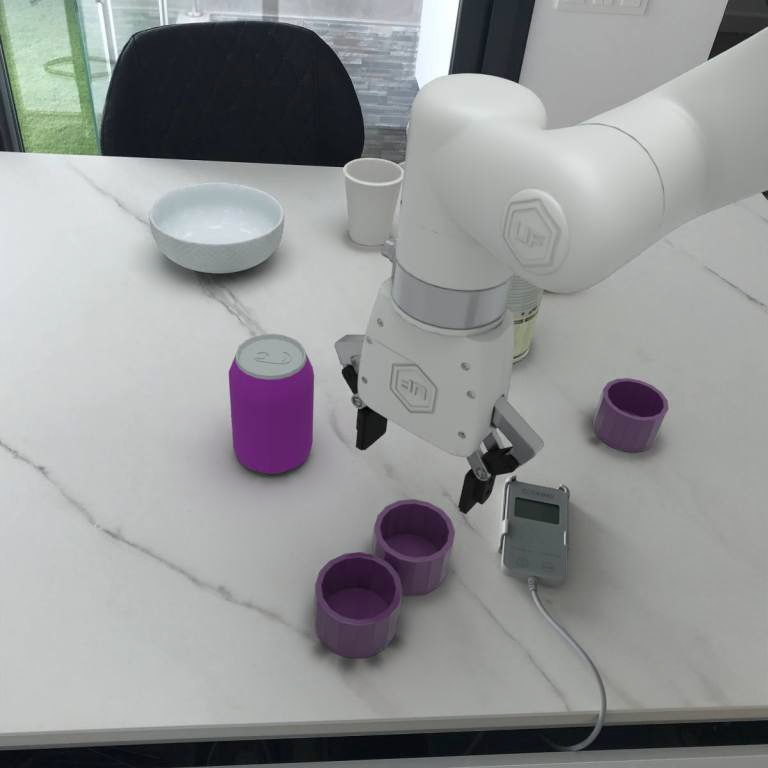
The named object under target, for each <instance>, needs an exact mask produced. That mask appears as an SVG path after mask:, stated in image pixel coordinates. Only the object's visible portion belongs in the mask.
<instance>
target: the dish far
mask: <svg viewBox="0 0 768 768" xmlns="http://www.w3.org/2000/svg"><path fill="white" fill-rule="evenodd" d="M598 400H599V401H598V403H597V406H596V409H595V412H594V416H593V420H592V428H593V431H594V433H595V434H596V436H597V438H599V440H601V441H602V442H603V443H605V444H606V445H608V446H609V447H612V448H613V449H616V450H618V451H622V452H627V453H639V452H641V453H642V452H644V451H647V450H648V449H650V448H652V447H653V446H654V444H655V442H656V440H657V438H658V436H659V433H660V431H661V429H662V427H663V424H664V422H665V419H666V417H667V414H668V412H669V409H670V408H669V401H668V399H667V397H666V396H665V395H664V393H663V392H662V391H661V390H659V389H658V388H656V386H654V385H652V384H650V383H649V382H648V383H647V382H645V381H643V380H640V379H634V378H630V377H624V378H616V379H613V380H611V381H608V382H607V383H606V384H605V386H604V387H603V389H602V392H601V395H600V397H599V399H598Z"/></svg>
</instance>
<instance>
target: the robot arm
mask: <svg viewBox="0 0 768 768" xmlns="http://www.w3.org/2000/svg"><path fill="white" fill-rule="evenodd" d="M547 127H548V116H547V110H546V108H545V106H544V104H543V102H542V100H541V99H540V98H539V97H538V95H537V94H536V93H535V92H534V91H532V90H531V89H530V88H528V87H526V86H524V85H522V84H520V83H517V82H516V81H512V80H510V79H507V78H504V77H500V76H496V75H490V74H483V73H468V72H467V73H454V74H453V73H452V74H446V75H441V76H438V77H435V78H433V79H431V80H430V81H428V82H426V83H425V84H424V85H423V86H422V87H421V88H420V89H419V90H418V92H417V93H416V96H415V97H414V100H413V102H412V105H411V108H410V116H409V119H408V130H407V137H406V149H405V157H404V168H403V170H404V175H403V180H402V183H401V194H400V202H399V213H398V222H397V231H396V238H393V237H389V238H388V239H386V240H385V242H384V243H383V244H382V245H381V249H380V254H381V256H382V257H384V258H386V259H388V260H389V262H390V263H391V265H392V267H391V277H389V278H387V279H386V280H385V281H383V282H382V283H381V285H380V288H379V290H378V292H377V295H376V298H375V300H374V303H373V306H372V309H371V312H370V314H369V315H370V316H369V318H368V322H367V326H366V329H365V334H345V335H343V336H342V337H341V338H339V339H337V341H335V342H334V349H335V353H336V355H337V359H338V361H339V363H340V365H341V366H342V368H341V376H342V378H343V379H344V381H345V383H346V384H347V386H348V387H349V389H350V391H351V392H352V396H351V397H350V401H351V404H352V405H353V406H354V407H355V408H356V409H357V411H356V412H357V413H356V423H355V429H356V439H355V440H356V441H355V448H356V449H358V450H359V451H366V450H368V448H370V447H371V446H372V445H374V444H375V443H376V442H377V441H379V439H380V438H382V437H383V436H384V435H385V434H386V432H387V428H388V422H389V421H390V422H392V423H393V424H395V425H397V426H399V427H400V428H401V429H404V430H405V431H407V432H409V433H411V434H412V435H414V436H417V437H418V438H420V439H421V440H422V441H425V442H426V443H428V444H430V445H432V446H433V447H435V448H437V449H439V450H441V451H442V452H445V453H446V454H450V455H452V456H454V457H458V458H466V460H467V462H468V465H469V467H470V469H469V470H468V471H467V472H466V473H465V475H464V478H463V483H462V486H461V493H460V496H459V500H458V505H457V508H458V509H459V512H461V513H462V514H464V515H467V514H468V513H469V512H470V511H471V510H472V509H473V507H474V506H475V505H477V504H479V505H481V506H482V505H484V504H485V503H486V502H487V501H488V499H489V498H490V496H491V495H492V492H493V490H494V486H495V483H496V478H497V476H500V475H507V474H511V473H514V472H515V471H516V470H517V469H518V468H520V467H522V466H524V465H525V464H526V463H528V462H529V461H531V460H533V459H534V458H535V457H536V456H537V455H538V453H540V452H541V450H542V449H543V448H544V447H545V443H544V440H543V438H542V437H541V436H540V435H539V434H538V433H537V432H536V431H535V430H534V428H533V427H532V426H531V425H530V424H529V423H528V422H527V421H526V420H525V419H524V417H523V416H522V415H520V413H519V412H518V411H517V410H516V409H515V408H514V406H512V404H511V403H510V402H509V401H508V398H509V392H510V387H511V382H512V374H513V364H514V363H513V353H514V321H513V313H512V312H511V311H510V310H508V309H507V304H508V300H509V295H510V291H511V286H512V282H513V278H514V273H516V274H517V275H518V276H520V277H521V278H522V279H524V280H526V281H527V282H529V283H530V284H532V285H534V286H537V287H539V288H541V289H543V290H544V291H548V292H551V293H556V294H574V293H579V292H582V291H585V290H589V289H590V288H592V287H595V286H596V285H599V284H600V283H602V282H603V281H606V279H608V278H609V277H611V276H613V275H614V274H615V273H617V272H618V271H619V270H621V269H622V268H623V267H625V266H626V265H628V264H629V263H630V262H632V261H633V260H634V259H636V258H638V257H639V256H640V255H642V253H644V252H646V251H647V250H648V249H650V248H651V247H652V246H653V245H655V244H657V243H658V242H659V241H660V240H662V239H663V238H664V237H666V236H668V235H669V234H671V233H672V232H674V231H676V230H677V229H678V228H680V227H682V226H683V225H685V224H688V223H689V222H691V221H693V220H695V219H697V218H699V217H702V216H704V215H707V214H709V213H711V212H714V211H717V210H719V209H721V208H725V207H727V206H730V205H732V204H735V203H737V202H741V201H743V200H746V199H748V198H750V197H754V196H756V195H759V194H761V193H763V192H767V191H768V26H766V27H765V28H763V29H761V30H760V31H758V32H757V33H755V34H753V35H752V36H750V37H747V38H746V39H744V40H743V41H741V42H739V43H737V44H736V45H733V46H732V47H730V48H728V49H727V50H725V51H723V52H720V53H719V54H717V55H715V56H714V57H712V58H710V59H708V60H706V61H704V62H703V63H701V64H699V65H697V66H695V67H694V68H692V69H689V70H688V71H686V72H684V73H682V74H680V75H678V76H676V77H674V78H673V79H670V80H669V81H668V82H665V83H664V84H661V85H659V86H658V87H655V88H653V89H652V90H650V91H648V92H646V93H643V94H642V95H640V96H638V97H636V98H634V99H632V100H630V101H628V102H626V103H624V104H622V105H619V106H617V107H615V108H612V109H610V110H607V111H604V112H602V113H600V114H597V115H595V116H593V117H591V118H588V119H586V120H584V121H582V122H580V123H577V124H575V125H574V126H566V127H561V128H552V129H547ZM497 429H498V430H499V431H500V433H501V434H502V435H503V436H504V437H505V438H506V439H507V440H508V441H509V443H510V444H511V446H507V447H505V445H504V443H503V441H502V439H501V437H500V435H499V432H498V431H497ZM482 443H483V445H484V447H485V449H486V451H485V452H483V450H482V448H481V445H482Z"/></svg>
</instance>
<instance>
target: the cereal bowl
mask: <svg viewBox="0 0 768 768" xmlns="http://www.w3.org/2000/svg"><path fill="white" fill-rule="evenodd" d="M148 221H149V222H148V223H149V226H150V227H149V228H150V231H151V235H152V238H153V240H154V242H155V244H156V246H157V248H158V249H159V250H160V252H162V253H163V255H164V256H165V257H166V258H168V259H169V260H171V261H172V262H174V263H175V264H177V265H179V266H180V267H184V268H185V269H189V270H192V271H195V272H200V273H206V274H207V273H208V274H210V273H211V274H230V273H238V272H242V271H245V270H248V269H252V268H253V267H256V266H258V265H260V264H261V263H263V262H265V261H266V260H267V259H268V258H269V257H270V256H272V255H273V253H275V251H276V250H277V248H278V247H279V245H280V243H281V239H282V238H283V233H284V227H285V210H284V208H283V206H282V205H281V203H280V202H279V201H278V200H277V199H276V198H275V197H274V196H272V195H271V194H270V193H267V192H265V191H263V190H261V189H258V188H255V187H252V186H249V185H244V184H239V183H233V182H232V183H231V182H217V181H216V182H215V181H214V182H200V183H193V184H188V185H185V186H180V187H177V188H174V189H172V190H170V191H167V192H166V193H164V194H162V195H161V196H159V197H158V198H156V200H154V202H153V203H152V204H151V206H150V208H149V211H148Z"/></svg>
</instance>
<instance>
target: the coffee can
mask: <svg viewBox="0 0 768 768" xmlns="http://www.w3.org/2000/svg"><path fill="white" fill-rule="evenodd" d="M544 291H545V290H543V289H541V288H539V287H537V286H534V285H532V284H530V283H529V282H527V281H526V280H524V279H522V278H521V277H520V276H518V275H517V274H516V273H514V278H513V282H512V286H511V291H510V295H509V300H508V304H507V309H508V310H510V311H511V312H512V313H513V321H514V353H513V364H516V363H518V362H520V361H522V360H523V359H524V358H525V357H526V356H527V355H528V354H529V352H530V350H531V343H532V338H533V334H534V330H535V326H536V322H537V318H538V316H539V315H538V314H539V310H540V306H541V302H542V298H543V294H544Z"/></svg>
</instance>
